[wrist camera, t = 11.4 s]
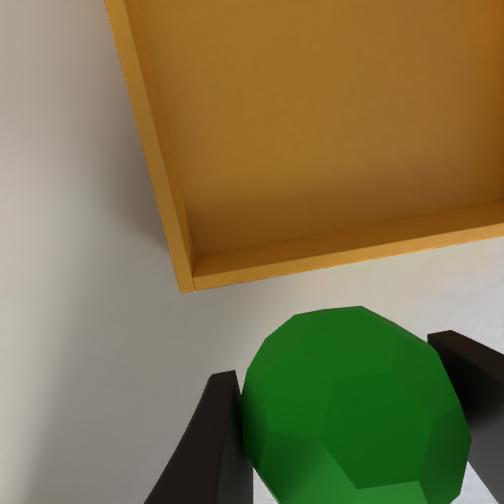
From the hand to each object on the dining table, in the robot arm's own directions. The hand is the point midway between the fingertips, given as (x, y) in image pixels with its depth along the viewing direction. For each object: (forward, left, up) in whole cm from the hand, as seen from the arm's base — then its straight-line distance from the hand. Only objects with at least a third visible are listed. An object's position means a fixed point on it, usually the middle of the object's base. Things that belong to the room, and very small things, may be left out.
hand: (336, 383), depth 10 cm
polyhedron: (0, 0, -2) cm, 2 cm away
